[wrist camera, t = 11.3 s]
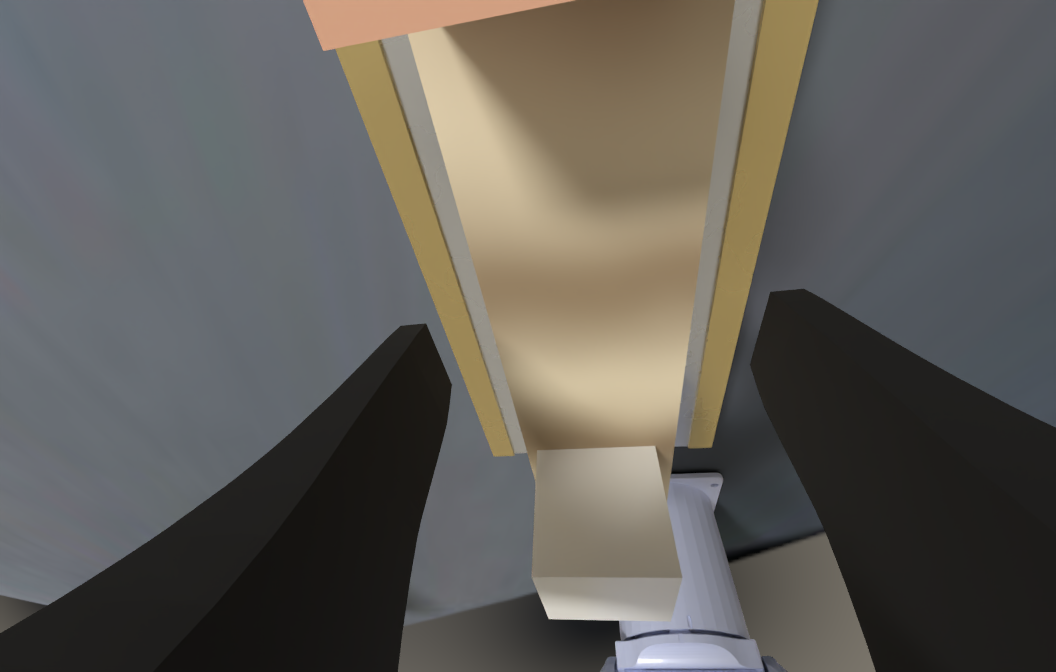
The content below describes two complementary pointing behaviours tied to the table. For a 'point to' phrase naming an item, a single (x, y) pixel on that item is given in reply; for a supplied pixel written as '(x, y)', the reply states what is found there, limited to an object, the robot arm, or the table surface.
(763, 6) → the dock
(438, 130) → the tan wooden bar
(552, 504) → the off-white cube block
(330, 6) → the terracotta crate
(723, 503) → the table surface
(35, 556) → the table surface
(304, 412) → the table surface
